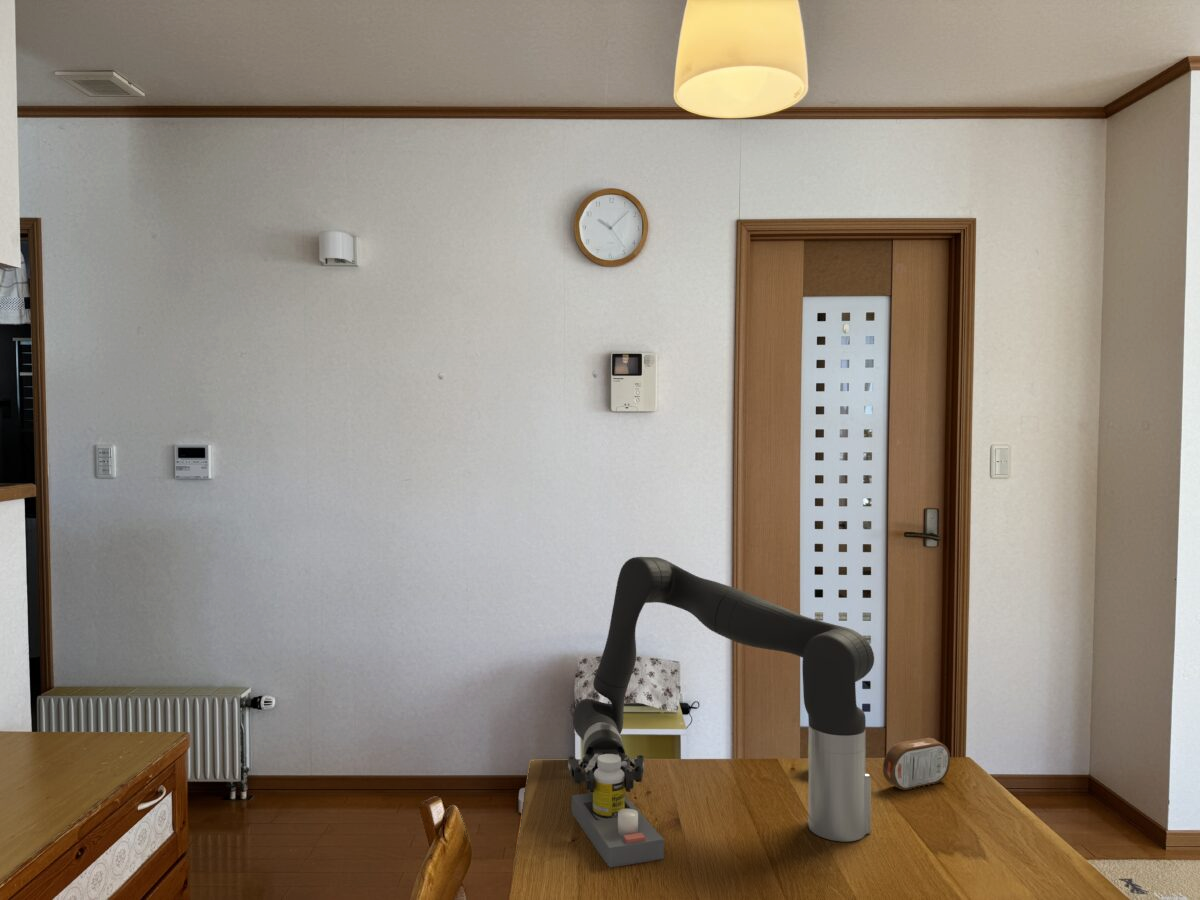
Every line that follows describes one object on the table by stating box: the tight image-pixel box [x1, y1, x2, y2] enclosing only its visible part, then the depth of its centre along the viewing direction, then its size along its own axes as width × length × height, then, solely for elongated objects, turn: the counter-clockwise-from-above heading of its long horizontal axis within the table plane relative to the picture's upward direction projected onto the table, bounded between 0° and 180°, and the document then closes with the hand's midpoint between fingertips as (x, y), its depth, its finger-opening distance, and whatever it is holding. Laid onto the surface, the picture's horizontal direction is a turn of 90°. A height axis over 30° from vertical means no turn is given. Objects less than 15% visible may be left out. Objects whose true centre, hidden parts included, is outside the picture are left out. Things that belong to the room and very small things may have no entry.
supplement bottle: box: [592, 754, 626, 820], centre depth 135 cm, size 5×5×10 cm
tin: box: [882, 737, 951, 791], centre depth 152 cm, size 15×3×8 cm, turn 114°
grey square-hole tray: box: [571, 792, 665, 869], centre depth 132 cm, size 9×20×6 cm, turn 19°
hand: (610, 786), depth 132 cm, fingers closed on supplement bottle, 5 cm apart
